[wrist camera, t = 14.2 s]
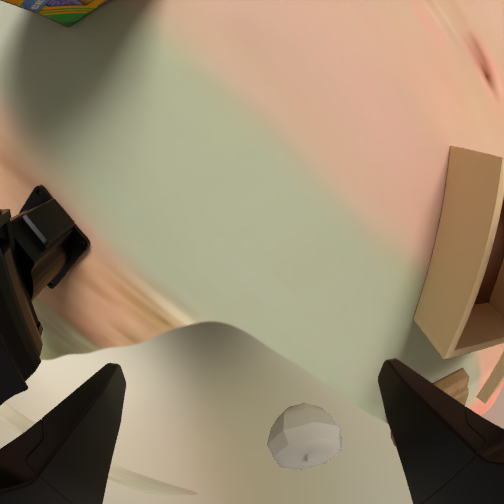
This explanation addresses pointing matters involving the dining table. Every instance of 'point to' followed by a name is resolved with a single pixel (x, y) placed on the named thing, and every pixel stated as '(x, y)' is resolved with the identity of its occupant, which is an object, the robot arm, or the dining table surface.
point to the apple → (304, 437)
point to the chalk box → (59, 8)
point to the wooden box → (465, 259)
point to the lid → (492, 381)
